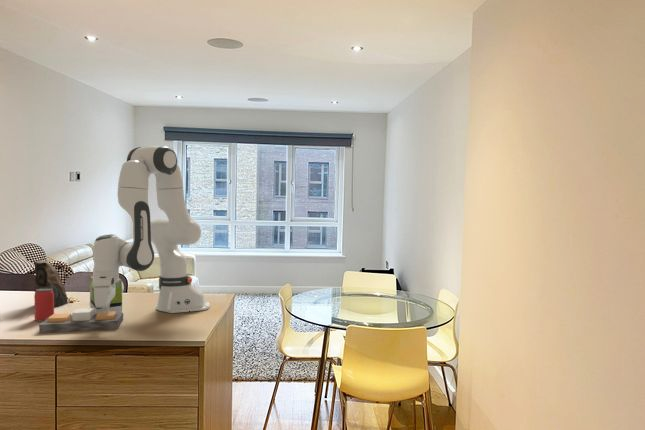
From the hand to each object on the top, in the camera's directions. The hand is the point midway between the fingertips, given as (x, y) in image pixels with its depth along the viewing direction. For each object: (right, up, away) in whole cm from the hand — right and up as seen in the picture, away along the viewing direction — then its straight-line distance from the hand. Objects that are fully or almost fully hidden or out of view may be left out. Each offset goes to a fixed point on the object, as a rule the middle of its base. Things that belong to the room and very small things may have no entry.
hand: (106, 313), depth 176 cm
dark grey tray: (-8, -4, -1) cm, 9 cm away
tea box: (-9, -4, +19) cm, 21 cm away
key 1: (-16, -3, -3) cm, 16 cm away
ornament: (-17, -2, +42) cm, 45 cm away
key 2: (0, -3, +1) cm, 3 cm away
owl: (-37, -3, +28) cm, 47 cm away
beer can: (-27, -4, +7) cm, 29 cm away
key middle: (-8, -2, -2) cm, 8 cm away
